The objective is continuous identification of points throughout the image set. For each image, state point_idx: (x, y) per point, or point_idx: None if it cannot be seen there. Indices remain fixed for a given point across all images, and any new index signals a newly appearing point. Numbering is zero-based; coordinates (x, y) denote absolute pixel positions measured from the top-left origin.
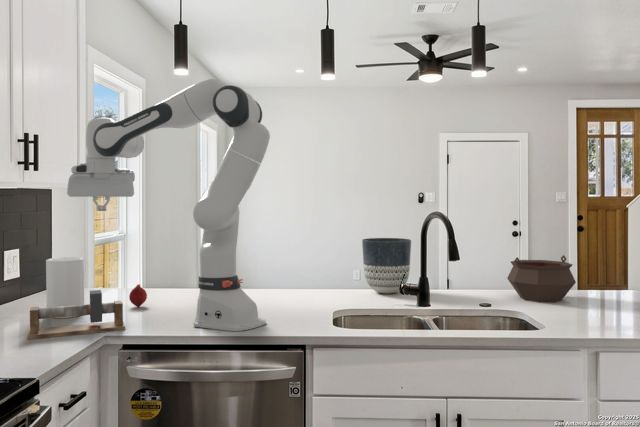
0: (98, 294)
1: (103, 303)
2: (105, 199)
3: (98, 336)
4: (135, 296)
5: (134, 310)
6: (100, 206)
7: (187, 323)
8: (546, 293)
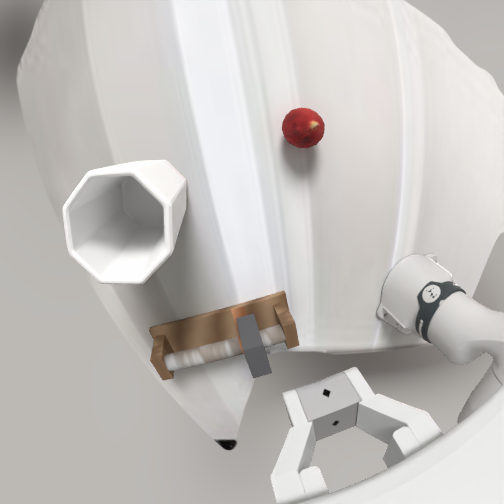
0: (266, 373)
1: (266, 344)
2: (384, 460)
3: None
4: (301, 147)
5: (291, 167)
6: (324, 430)
7: (373, 292)
8: None
